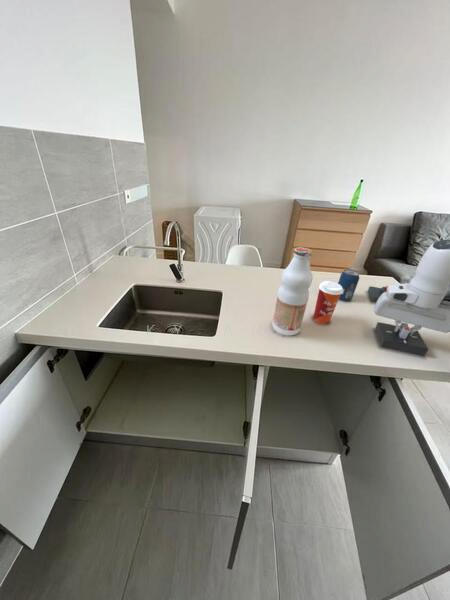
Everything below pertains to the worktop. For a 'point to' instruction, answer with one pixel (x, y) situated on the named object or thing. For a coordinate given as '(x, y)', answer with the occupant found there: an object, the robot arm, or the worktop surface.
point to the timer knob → (404, 330)
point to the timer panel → (400, 340)
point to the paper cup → (327, 301)
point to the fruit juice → (293, 293)
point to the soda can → (348, 284)
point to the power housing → (375, 293)
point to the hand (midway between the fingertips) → (402, 332)
